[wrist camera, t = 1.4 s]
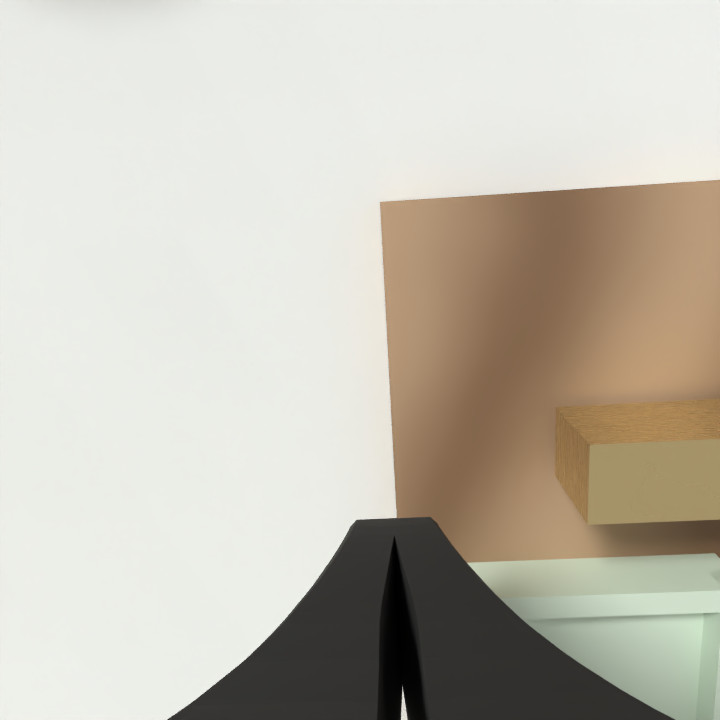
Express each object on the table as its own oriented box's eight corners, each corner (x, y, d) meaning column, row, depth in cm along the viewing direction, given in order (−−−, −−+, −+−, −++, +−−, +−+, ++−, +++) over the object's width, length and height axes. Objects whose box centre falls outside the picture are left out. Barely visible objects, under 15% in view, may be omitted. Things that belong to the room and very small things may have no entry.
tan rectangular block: (745, 397, 15) (817, 434, 12) (739, 467, 15) (807, 516, 13) (555, 407, 15) (589, 444, 13) (554, 475, 15) (587, 525, 13)
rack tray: (714, 553, 16) (750, 589, 15) (697, 769, 18) (727, 823, 16) (425, 564, 17) (430, 600, 15) (434, 775, 18) (439, 828, 17)
